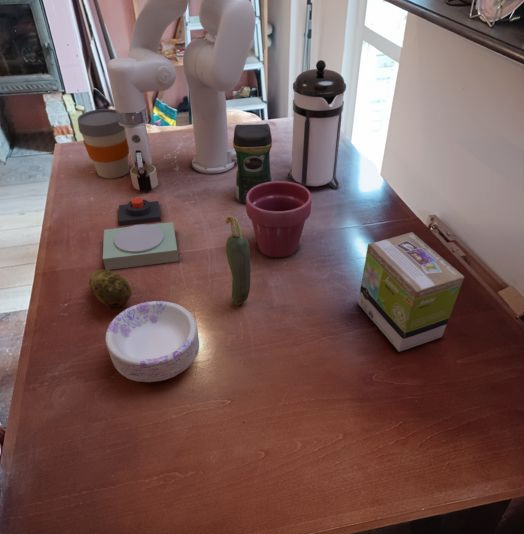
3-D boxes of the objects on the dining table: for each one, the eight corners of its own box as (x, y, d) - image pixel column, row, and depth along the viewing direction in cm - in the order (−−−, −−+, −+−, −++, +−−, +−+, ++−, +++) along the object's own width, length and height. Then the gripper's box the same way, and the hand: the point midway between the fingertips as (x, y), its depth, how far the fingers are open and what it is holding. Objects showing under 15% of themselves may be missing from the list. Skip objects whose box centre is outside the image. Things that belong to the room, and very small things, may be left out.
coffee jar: (271, 189, 130) (271, 118, 116) (273, 204, 124) (273, 131, 111) (235, 190, 130) (232, 119, 116) (235, 205, 124) (232, 132, 111)
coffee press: (350, 176, 135) (365, 56, 113) (324, 200, 125) (335, 73, 104) (296, 162, 141) (302, 46, 120) (268, 184, 132) (268, 62, 110)
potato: (134, 279, 102) (126, 247, 97) (135, 318, 94) (127, 285, 88) (94, 284, 101) (84, 252, 95) (92, 324, 92) (80, 292, 87)
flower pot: (254, 227, 117) (253, 177, 107) (312, 233, 114) (315, 182, 105) (241, 260, 107) (238, 208, 98) (303, 267, 105) (306, 215, 96)
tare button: (143, 202, 120) (142, 197, 119) (144, 208, 118) (142, 202, 117) (132, 204, 120) (131, 198, 119) (132, 209, 118) (131, 203, 117)
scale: (174, 232, 115) (172, 219, 112) (178, 261, 107) (176, 247, 104) (107, 240, 113) (103, 227, 110) (105, 270, 105) (101, 256, 102)
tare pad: (159, 205, 124) (157, 195, 122) (161, 221, 119) (159, 210, 117) (120, 209, 123) (117, 199, 121) (120, 226, 117) (117, 215, 115)
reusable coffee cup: (115, 158, 144) (102, 105, 134) (144, 168, 139) (134, 114, 129) (82, 173, 137) (66, 119, 127) (111, 185, 132) (97, 129, 121)
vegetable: (254, 301, 97) (252, 212, 83) (247, 314, 94) (243, 225, 80) (234, 296, 98) (229, 208, 84) (226, 310, 95) (219, 220, 81)
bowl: (158, 178, 135) (155, 162, 132) (159, 190, 130) (156, 174, 127) (133, 181, 134) (129, 165, 131) (133, 193, 129) (130, 176, 126)
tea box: (355, 304, 96) (366, 241, 85) (397, 292, 99) (413, 229, 88) (398, 354, 86) (417, 289, 76) (443, 338, 89) (467, 274, 78)
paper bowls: (163, 407, 78) (155, 375, 72) (97, 371, 84) (84, 339, 78) (218, 351, 87) (214, 318, 81) (154, 321, 93) (147, 289, 87)
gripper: (149, 127, 113) (160, 197, 126) (146, 102, 125) (157, 168, 138) (116, 130, 112) (132, 199, 125) (117, 104, 124) (131, 170, 137)
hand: (145, 182), depth 131 cm, fingers closed on bowl, 7 cm apart
